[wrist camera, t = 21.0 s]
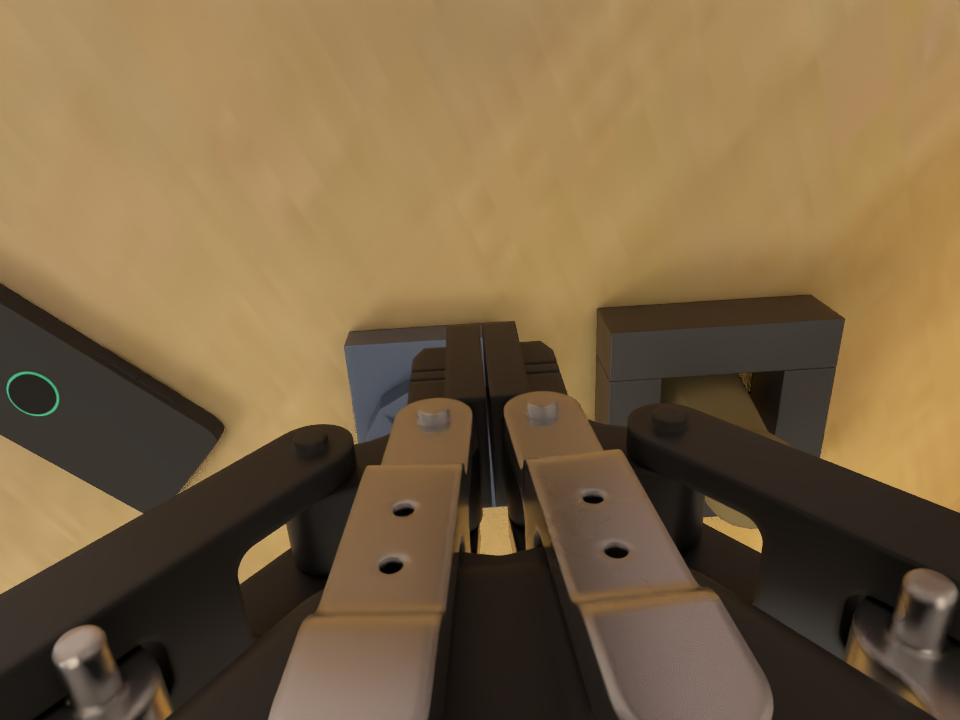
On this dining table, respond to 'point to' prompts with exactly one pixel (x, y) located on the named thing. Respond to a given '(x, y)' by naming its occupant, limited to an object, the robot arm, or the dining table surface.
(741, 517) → the cork
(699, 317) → the socket
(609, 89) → the dining table surface
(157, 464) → the smart home device
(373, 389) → the power block
